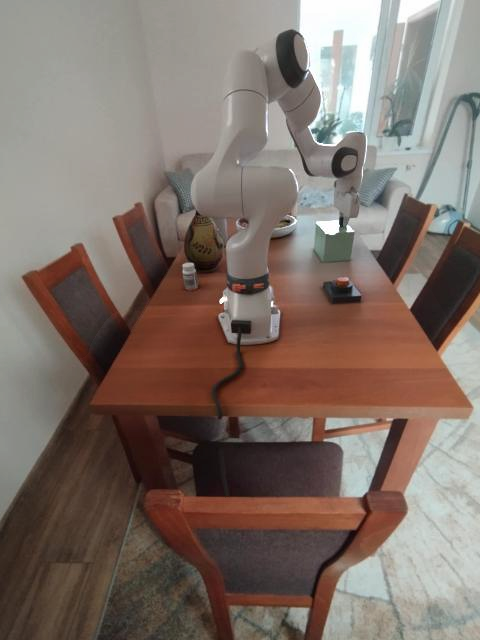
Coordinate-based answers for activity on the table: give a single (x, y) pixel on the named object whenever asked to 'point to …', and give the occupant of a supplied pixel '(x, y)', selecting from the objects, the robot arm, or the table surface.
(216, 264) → the ceramic jug
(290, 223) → the bowl
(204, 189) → the robot arm
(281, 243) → the table surface
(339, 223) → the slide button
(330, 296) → the black button base
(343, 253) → the pale green box
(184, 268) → the pill bottle
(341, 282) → the button
